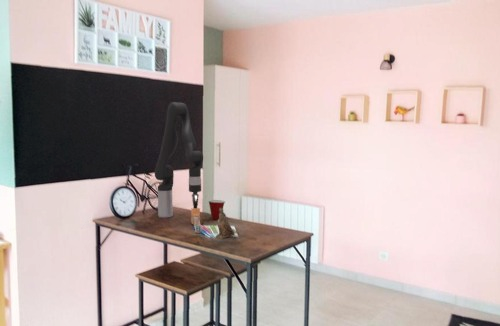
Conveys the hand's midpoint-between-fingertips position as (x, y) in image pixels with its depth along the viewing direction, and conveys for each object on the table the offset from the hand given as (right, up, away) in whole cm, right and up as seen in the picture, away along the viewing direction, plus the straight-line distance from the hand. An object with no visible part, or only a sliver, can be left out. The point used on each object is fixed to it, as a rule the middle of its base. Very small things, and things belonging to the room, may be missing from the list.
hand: (195, 211), depth 260 cm
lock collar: (+1, -6, -4) cm, 8 cm away
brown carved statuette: (+20, -10, -30) cm, 37 cm away
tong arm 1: (+2, -8, -16) cm, 18 cm away
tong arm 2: (+4, -8, -16) cm, 18 cm away
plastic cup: (+12, -6, +10) cm, 17 cm away
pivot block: (+1, -7, -4) cm, 8 cm away
